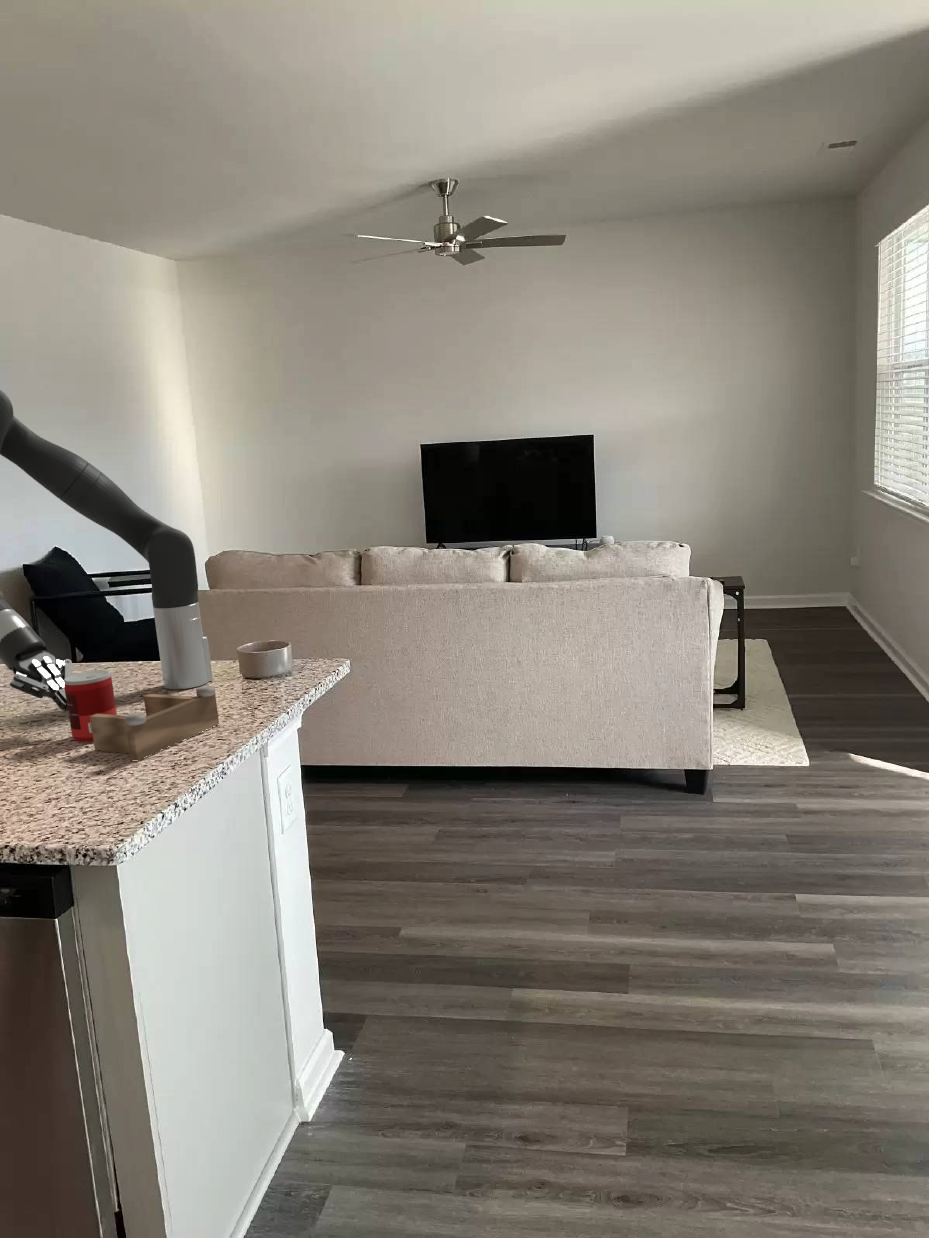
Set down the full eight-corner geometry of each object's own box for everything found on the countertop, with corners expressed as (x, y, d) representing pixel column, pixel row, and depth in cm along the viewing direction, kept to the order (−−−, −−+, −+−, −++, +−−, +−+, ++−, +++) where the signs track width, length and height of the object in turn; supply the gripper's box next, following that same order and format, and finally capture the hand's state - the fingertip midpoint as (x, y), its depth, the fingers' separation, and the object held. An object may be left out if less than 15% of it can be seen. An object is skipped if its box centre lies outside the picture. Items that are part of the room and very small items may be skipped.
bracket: (80, 756, 164) (74, 714, 163) (166, 721, 182) (160, 683, 181) (141, 762, 158) (135, 718, 157) (223, 725, 176) (218, 686, 175)
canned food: (128, 729, 179) (119, 670, 177) (98, 743, 171) (89, 681, 169) (93, 728, 181) (84, 669, 179) (63, 742, 174) (53, 681, 172)
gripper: (-11, 633, 173) (50, 704, 170) (50, 618, 185) (108, 684, 182) (-27, 662, 177) (33, 732, 174) (34, 645, 188) (91, 710, 185)
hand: (71, 707), depth 178 cm, fingers closed
